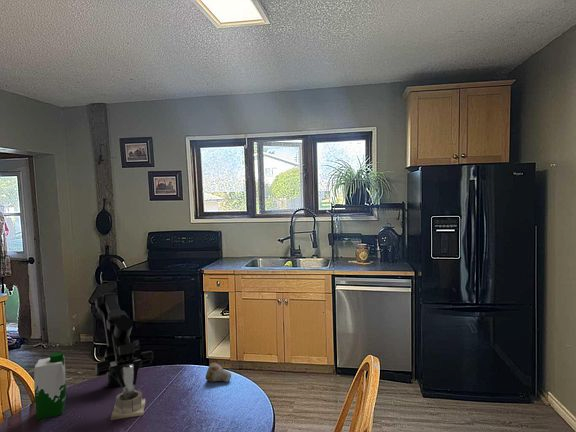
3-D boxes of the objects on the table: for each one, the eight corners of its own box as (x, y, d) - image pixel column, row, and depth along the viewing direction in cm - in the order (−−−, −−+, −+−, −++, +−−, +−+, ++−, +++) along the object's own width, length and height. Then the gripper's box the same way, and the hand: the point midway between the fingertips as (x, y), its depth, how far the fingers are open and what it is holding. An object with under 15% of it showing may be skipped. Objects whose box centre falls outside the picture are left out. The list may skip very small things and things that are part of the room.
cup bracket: (115, 405, 136) (115, 391, 136) (145, 401, 139) (145, 387, 139) (110, 420, 126) (110, 405, 126) (143, 415, 129) (142, 400, 129)
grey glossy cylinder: (127, 400, 135) (126, 363, 134) (136, 400, 134) (135, 364, 134) (121, 405, 131) (120, 368, 131) (130, 406, 131) (129, 368, 130)
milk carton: (64, 415, 130) (62, 357, 130) (33, 421, 126) (31, 362, 126) (67, 403, 138) (66, 348, 138) (38, 409, 135) (36, 353, 134)
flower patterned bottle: (230, 386, 150) (216, 365, 149) (211, 393, 153) (198, 373, 152) (236, 373, 157) (224, 354, 156) (218, 381, 160) (206, 361, 159)
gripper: (95, 339, 130) (101, 382, 121) (151, 328, 141) (160, 368, 132) (93, 354, 137) (98, 397, 128) (147, 343, 147) (155, 382, 138)
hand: (129, 385), depth 131 cm, fingers closed on grey glossy cylinder, 3 cm apart
